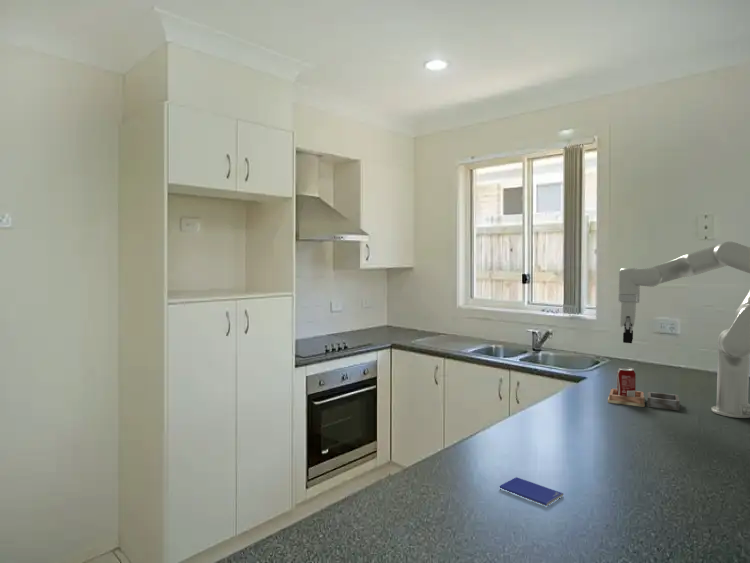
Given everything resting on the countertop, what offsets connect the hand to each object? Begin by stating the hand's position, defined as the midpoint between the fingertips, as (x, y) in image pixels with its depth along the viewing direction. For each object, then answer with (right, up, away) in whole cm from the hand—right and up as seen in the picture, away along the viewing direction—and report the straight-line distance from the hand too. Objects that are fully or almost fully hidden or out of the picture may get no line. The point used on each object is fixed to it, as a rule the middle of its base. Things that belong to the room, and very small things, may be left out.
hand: (628, 341), depth 204 cm
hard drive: (-64, -28, -82) cm, 108 cm away
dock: (+6, -24, -2) cm, 25 cm away
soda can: (0, -23, +1) cm, 23 cm away
